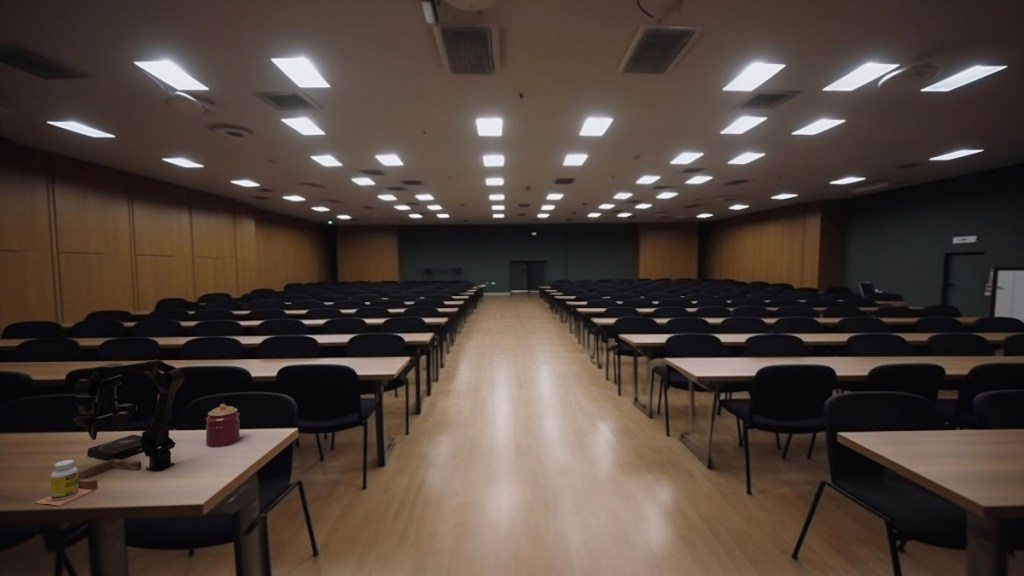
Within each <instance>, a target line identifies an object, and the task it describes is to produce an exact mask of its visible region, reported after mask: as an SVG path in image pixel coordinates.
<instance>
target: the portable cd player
mask: <svg viewBox="0 0 1024 576" xmlns="http://www.w3.org/2000/svg"><path fill="white" fill-rule="evenodd" d="M141 438H142V435H138V434H131V435H128V436H127V435H126V436H124V437H120V438H117V439H114V440H111V441H107V442H105V443H101V444H99V445H95V446H91V447H89V448H87V453H86V457H88V456H89V457H88V458H92V457H93V459H97V460H101V461H105V462H106V461H108V460H111V459H120V460H126V459H127V458H128V459H129V458H130V457H134V456H136V455H140V454H142V453H144V450H143V448H142V447H141V442H140V440H141ZM139 453H140V454H139Z"/></svg>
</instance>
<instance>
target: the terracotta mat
mask: <svg viewBox="0 0 1024 576" xmlns="http://www.w3.org/2000/svg"><path fill="white" fill-rule="evenodd" d="M93 492H94V490H88V489H79V488H78V493H77V494H75V495H73V496H71V497H69V498H65V499H61V500H53V499H52V498H51V495H49V496H47V497H44V498H42V499H40V500H37V501H35V502H34V504H35V503H38V504H37V505H41V504H51V505H57V506H56V507H58V506H59V507H61V506H60V505H62V506H64V505H66V504H68V503H70V502H72V501H75V500H77V499H79V498H82V497H84V496H86V495H89V494H91V493H93Z"/></svg>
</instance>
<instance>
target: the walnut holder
mask: <svg viewBox="0 0 1024 576" xmlns="http://www.w3.org/2000/svg"><path fill="white" fill-rule="evenodd" d="M111 469H114V470H115V469H117V470H127V471H140V470H142V461H141V460H129V459H122V460H120V459H111V460H108V461H106V460H105V461H103V462H101V463H98V464H96V465H94V466H90V467H88V468H86V469H83V470H81V471H78V488H79V489H88V490H93V491H95V490H97V489H98V480H97V479H89V478H92V477H93V476H96V475H98V474H99V475H100V474H102V473H103V472H106V471H108V470H111ZM91 476H92V477H91ZM88 477H89V478H88ZM86 478H87V479H86Z"/></svg>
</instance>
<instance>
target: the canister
mask: <svg viewBox="0 0 1024 576" xmlns="http://www.w3.org/2000/svg"><path fill="white" fill-rule="evenodd" d="M237 411H238V408H236V407H234V406H231V405H229V406H228V405H227V404H225V403H221V404H220V405H219V407H216V408H213V409H212V410H211V411H210V410H209V412H207V415H208V416H207V417H206V418H205V421H206V426H205V428H206V430H205V437H206V438H205V443H206V446H207V445H208V446H207V447H210V446H219V447H223V446H222V445H225V446H228V445H227V444H229V445H231V444H230V443H232V444H234V443H233V442H235V443H236V441H237V440H238V439H239V440H240V436H241V433H240V422H241V420H240V419H239V417H240V413H239V412H237ZM239 440H238V441H239ZM238 441H237V442H238Z"/></svg>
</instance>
